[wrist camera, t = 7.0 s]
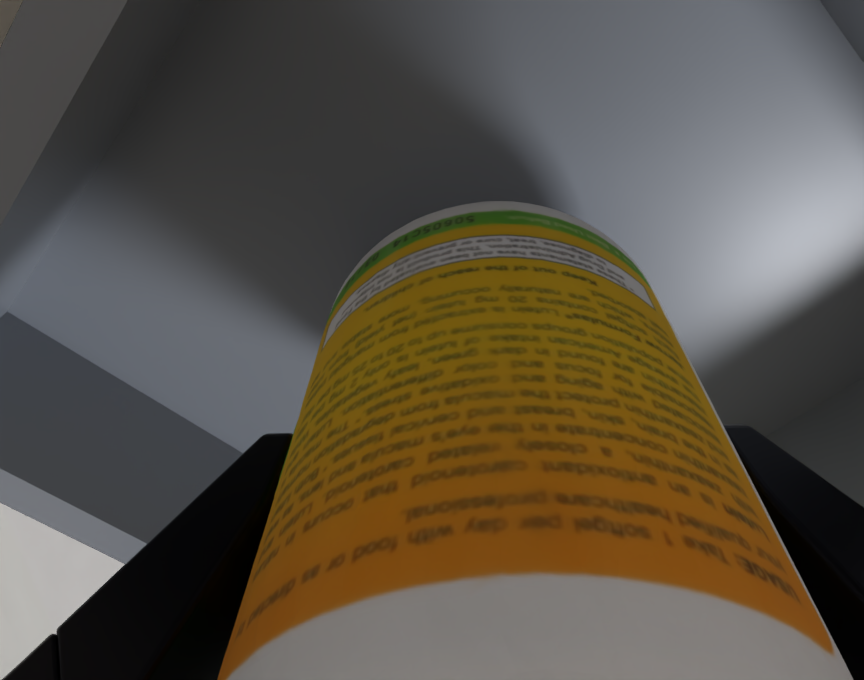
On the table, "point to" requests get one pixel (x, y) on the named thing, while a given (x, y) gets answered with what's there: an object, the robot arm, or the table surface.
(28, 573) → the table surface
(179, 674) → the robot arm
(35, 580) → the table surface
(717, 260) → the tray
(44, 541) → the table surface
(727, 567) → the supplement bottle
